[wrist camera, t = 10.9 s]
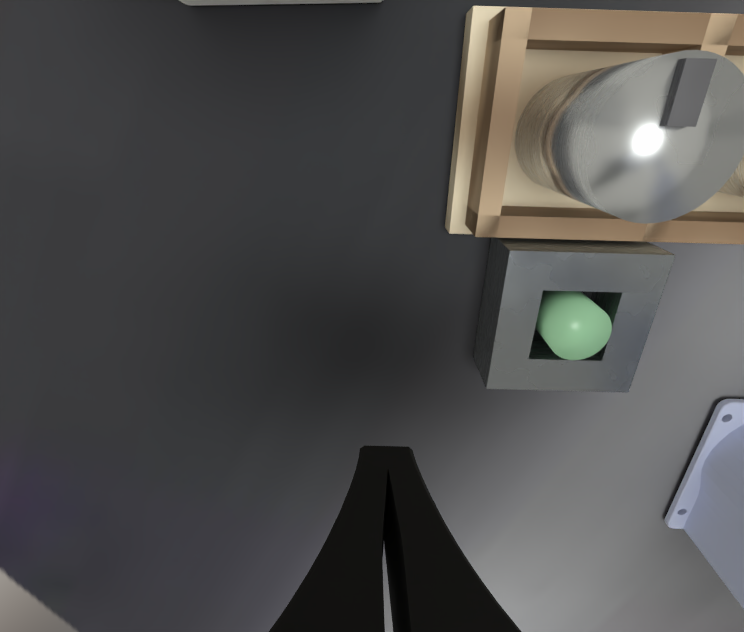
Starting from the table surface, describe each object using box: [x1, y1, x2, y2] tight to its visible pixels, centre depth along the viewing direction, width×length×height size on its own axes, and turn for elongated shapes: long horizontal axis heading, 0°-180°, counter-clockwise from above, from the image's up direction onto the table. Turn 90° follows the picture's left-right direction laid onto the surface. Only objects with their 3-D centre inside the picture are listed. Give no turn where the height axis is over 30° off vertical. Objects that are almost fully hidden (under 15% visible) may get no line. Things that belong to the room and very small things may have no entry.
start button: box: [535, 290, 612, 360], centre depth 19 cm, size 2×2×3 cm
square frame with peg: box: [473, 237, 675, 392], centre depth 19 cm, size 6×6×3 cm
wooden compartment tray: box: [445, 6, 744, 244], centre depth 16 cm, size 8×14×3 cm, turn 88°
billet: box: [515, 50, 744, 224], centre depth 13 cm, size 4×4×6 cm
